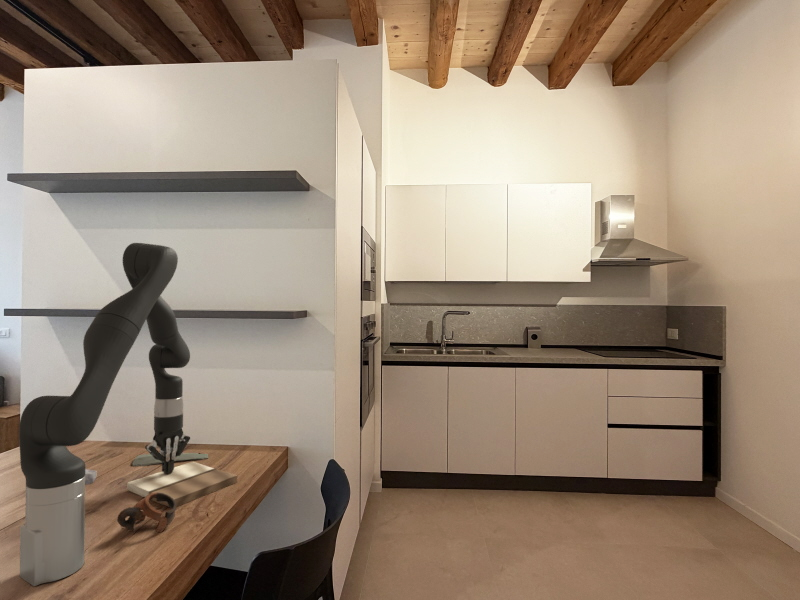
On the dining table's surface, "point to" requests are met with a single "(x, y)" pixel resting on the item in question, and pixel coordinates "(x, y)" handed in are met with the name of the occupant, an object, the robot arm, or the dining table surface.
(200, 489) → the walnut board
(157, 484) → the ash plank
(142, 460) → the stone slab
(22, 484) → the dining table surface
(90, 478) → the stone block
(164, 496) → the brown ringed bracket
